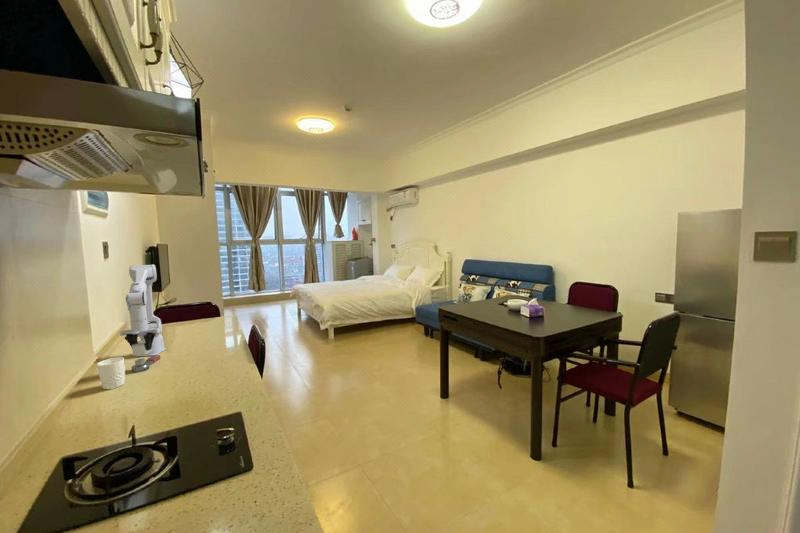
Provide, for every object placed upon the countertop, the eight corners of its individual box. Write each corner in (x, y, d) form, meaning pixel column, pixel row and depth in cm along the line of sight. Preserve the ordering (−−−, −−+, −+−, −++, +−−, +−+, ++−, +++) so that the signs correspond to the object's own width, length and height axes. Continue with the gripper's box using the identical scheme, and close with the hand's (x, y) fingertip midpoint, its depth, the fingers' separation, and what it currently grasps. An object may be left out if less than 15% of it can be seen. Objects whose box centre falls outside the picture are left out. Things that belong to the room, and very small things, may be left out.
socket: (140, 351, 145) (138, 340, 144) (152, 350, 145) (150, 340, 145) (133, 355, 140) (131, 344, 139) (145, 354, 141) (144, 343, 140)
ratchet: (149, 359, 154) (148, 350, 153) (163, 358, 155) (162, 349, 154) (128, 373, 139) (127, 363, 139) (144, 372, 140) (142, 362, 139)
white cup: (132, 381, 131) (129, 357, 130) (113, 390, 123) (110, 365, 122) (114, 380, 132) (111, 357, 131) (94, 390, 124) (91, 365, 123)
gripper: (113, 323, 136) (117, 354, 137) (152, 321, 138) (155, 351, 140) (124, 319, 143) (128, 349, 144) (161, 316, 145) (164, 346, 147)
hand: (142, 350), depth 142 cm, fingers closed on socket, 5 cm apart
